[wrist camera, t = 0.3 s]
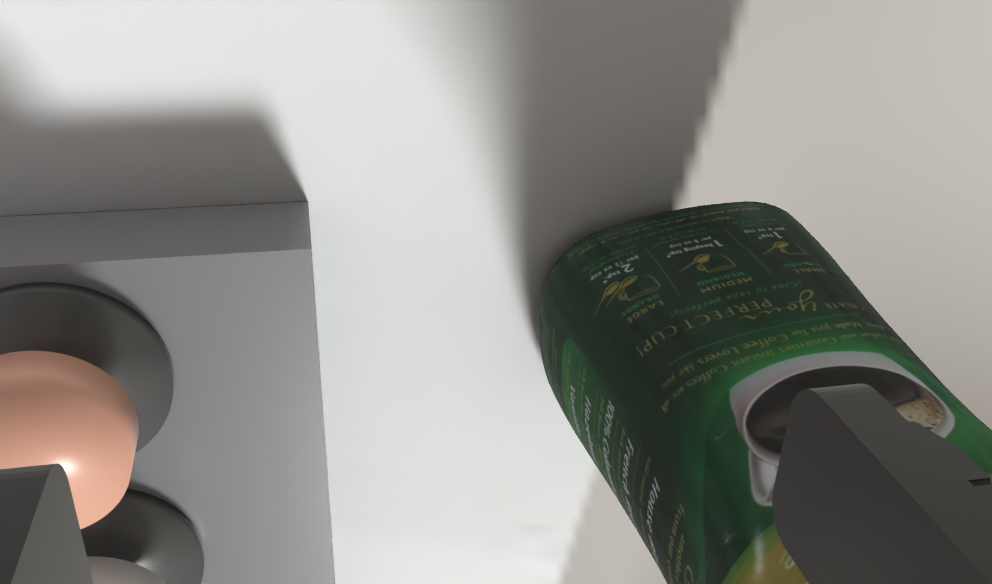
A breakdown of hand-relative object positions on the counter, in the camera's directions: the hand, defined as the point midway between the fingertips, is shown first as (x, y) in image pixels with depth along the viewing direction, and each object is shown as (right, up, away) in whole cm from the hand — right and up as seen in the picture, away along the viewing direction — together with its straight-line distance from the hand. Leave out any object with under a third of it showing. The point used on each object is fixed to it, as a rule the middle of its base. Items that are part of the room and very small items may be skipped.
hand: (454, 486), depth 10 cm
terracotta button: (-11, -1, +13) cm, 17 cm away
